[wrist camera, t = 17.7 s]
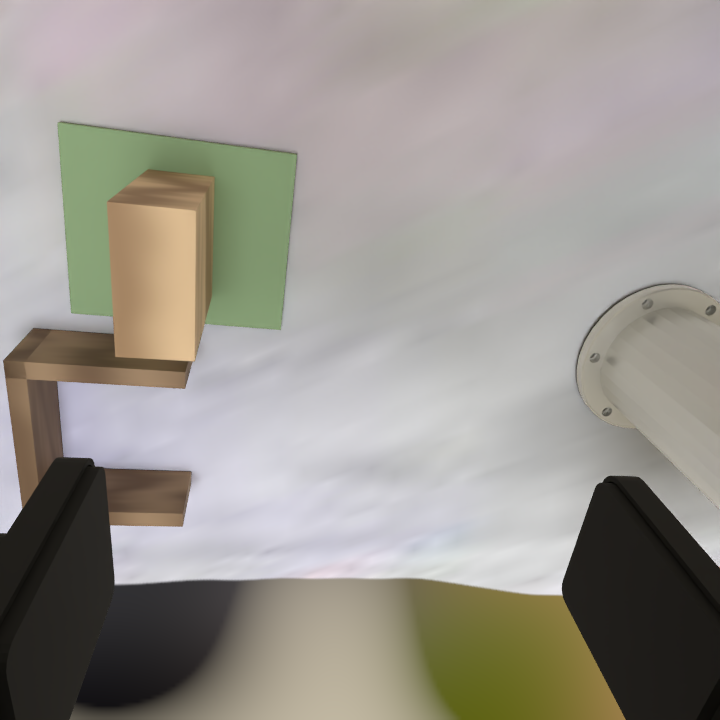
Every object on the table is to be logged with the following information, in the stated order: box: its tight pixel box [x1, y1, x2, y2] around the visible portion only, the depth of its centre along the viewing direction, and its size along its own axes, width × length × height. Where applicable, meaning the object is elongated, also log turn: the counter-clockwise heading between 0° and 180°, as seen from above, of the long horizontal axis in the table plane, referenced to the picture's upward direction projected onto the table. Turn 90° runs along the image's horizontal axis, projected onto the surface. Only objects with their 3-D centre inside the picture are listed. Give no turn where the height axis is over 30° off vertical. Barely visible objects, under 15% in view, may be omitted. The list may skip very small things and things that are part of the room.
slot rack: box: [3, 328, 193, 527], centre depth 41 cm, size 11×13×5 cm
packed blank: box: [107, 169, 215, 361], centre depth 33 cm, size 4×8×10 cm, turn 172°
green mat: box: [58, 122, 297, 330], centre depth 38 cm, size 14×12×1 cm
